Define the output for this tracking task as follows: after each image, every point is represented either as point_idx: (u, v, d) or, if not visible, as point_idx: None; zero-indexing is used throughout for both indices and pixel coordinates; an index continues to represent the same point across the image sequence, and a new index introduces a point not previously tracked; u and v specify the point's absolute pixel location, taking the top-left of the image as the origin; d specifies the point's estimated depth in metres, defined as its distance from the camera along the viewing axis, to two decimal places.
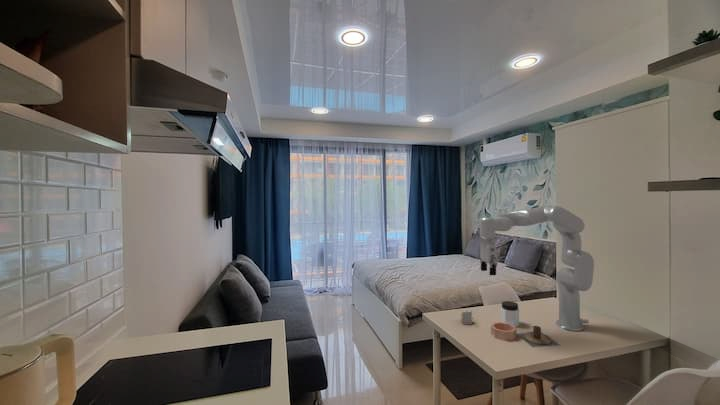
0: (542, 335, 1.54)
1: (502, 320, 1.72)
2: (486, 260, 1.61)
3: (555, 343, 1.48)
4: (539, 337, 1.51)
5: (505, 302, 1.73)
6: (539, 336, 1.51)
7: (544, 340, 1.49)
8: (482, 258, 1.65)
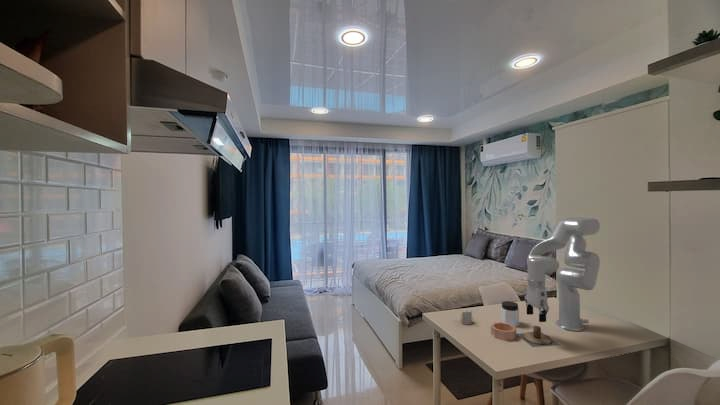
0: (542, 335, 1.54)
1: (502, 320, 1.72)
2: (535, 305, 1.49)
3: (555, 343, 1.48)
4: (539, 337, 1.51)
5: (505, 302, 1.73)
6: (539, 336, 1.51)
7: (544, 340, 1.49)
8: (529, 301, 1.54)
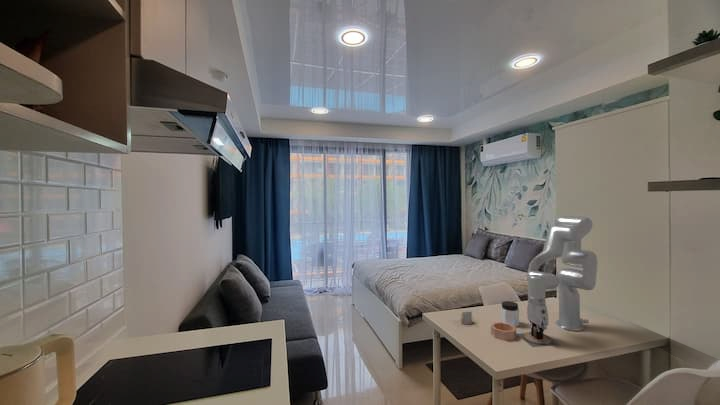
0: None
1: (502, 320, 1.72)
2: (536, 322, 1.50)
3: (555, 343, 1.48)
4: None
5: (505, 302, 1.73)
6: None
7: (544, 340, 1.49)
8: (530, 318, 1.54)
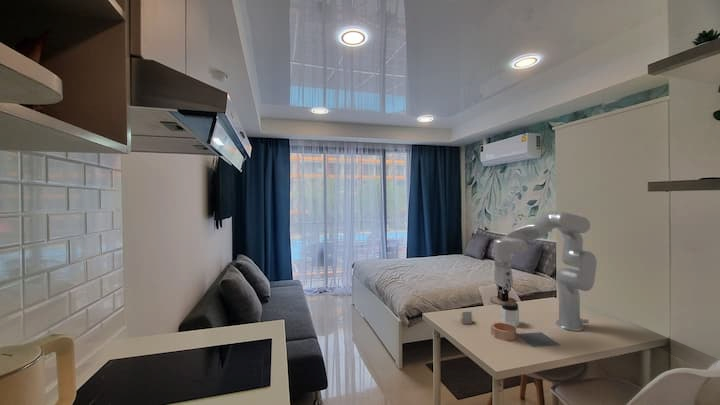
0: (508, 298, 1.59)
1: (502, 320, 1.72)
2: (501, 284, 1.54)
3: (555, 343, 1.48)
4: None
5: None
6: None
7: (509, 302, 1.54)
8: (496, 282, 1.59)
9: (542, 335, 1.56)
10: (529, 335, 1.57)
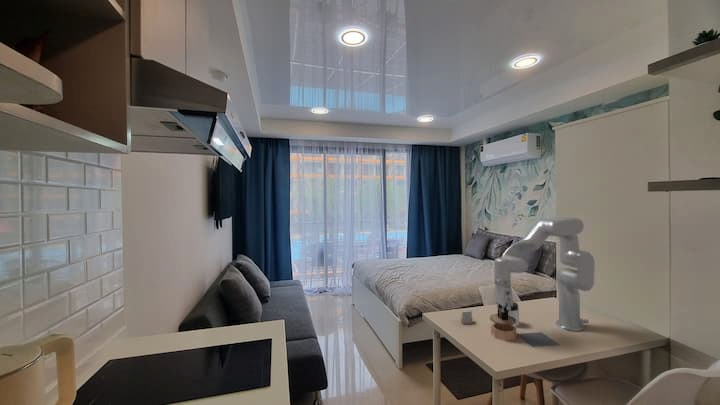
0: (508, 316, 1.59)
1: None
2: (501, 303, 1.55)
3: (555, 343, 1.48)
4: None
5: None
6: None
7: (509, 320, 1.54)
8: (496, 300, 1.59)
9: (542, 335, 1.56)
10: (529, 335, 1.57)
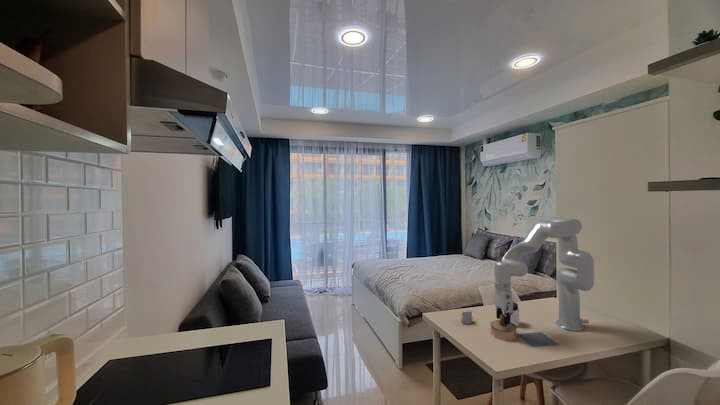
0: None
1: None
2: (501, 307, 1.55)
3: (555, 343, 1.48)
4: (505, 325, 1.56)
5: None
6: (505, 324, 1.56)
7: (509, 327, 1.54)
8: (497, 304, 1.59)
9: (542, 335, 1.56)
10: (529, 335, 1.57)
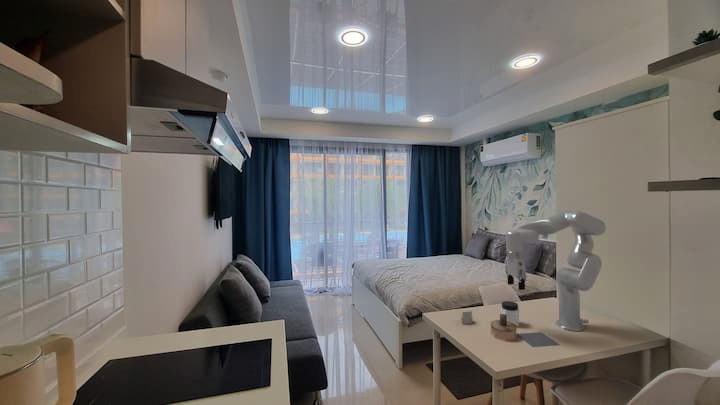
0: (508, 323, 1.59)
1: None
2: (514, 274, 1.59)
3: (555, 343, 1.48)
4: (505, 325, 1.56)
5: (505, 302, 1.73)
6: (505, 324, 1.56)
7: (509, 327, 1.54)
8: (509, 272, 1.63)
9: (542, 335, 1.56)
10: (529, 335, 1.57)
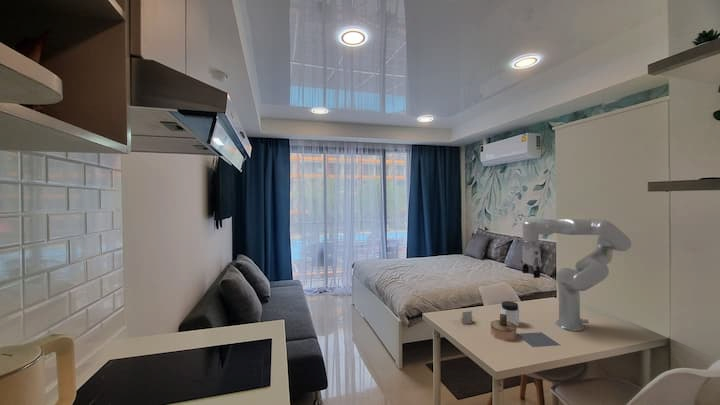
0: (508, 323, 1.59)
1: None
2: (530, 263, 1.65)
3: (555, 343, 1.48)
4: (505, 325, 1.56)
5: (505, 302, 1.73)
6: (505, 324, 1.56)
7: (509, 327, 1.54)
8: (525, 261, 1.69)
9: (542, 335, 1.56)
10: (529, 335, 1.57)
